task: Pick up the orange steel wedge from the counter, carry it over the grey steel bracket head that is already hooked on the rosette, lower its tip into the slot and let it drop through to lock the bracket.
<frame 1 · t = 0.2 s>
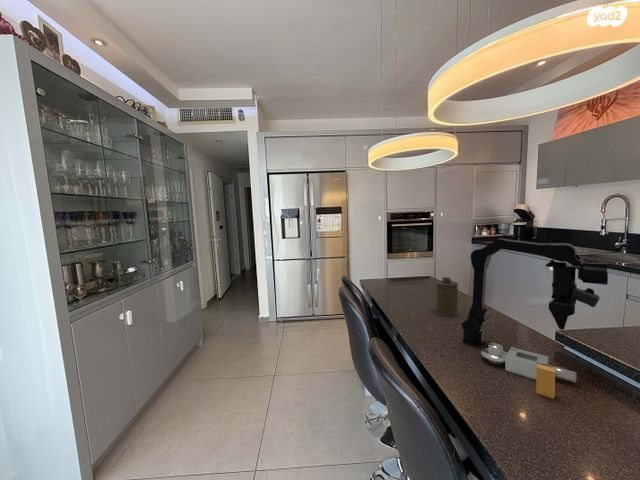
hand: (562, 325, 92), 15 cm above the countertop, tool pointing down, fingers open, 9 cm apart
wedge: (545, 394, 79), on the countertop
canister: (447, 314, 147), on the countertop
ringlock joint: (526, 370, 91), on the countertop
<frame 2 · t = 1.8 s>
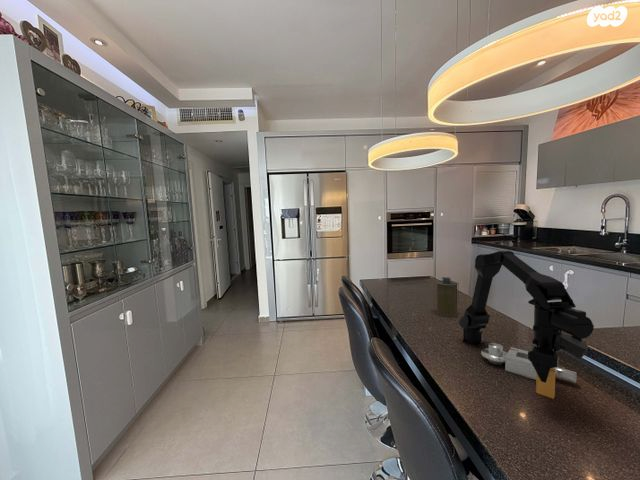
hand: (545, 374, 79), 6 cm above the countertop, tool pointing down, fingers open, 9 cm apart
nothing on the countertop moved.
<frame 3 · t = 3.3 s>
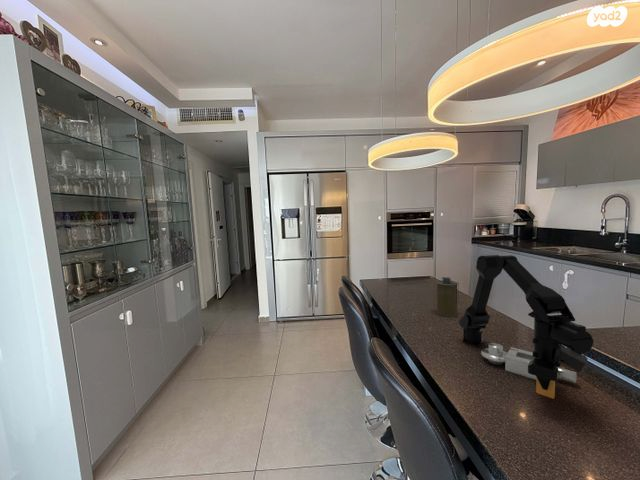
hand: (545, 387, 79), 2 cm above the countertop, tool pointing down, fingers closed on wedge, 2 cm apart
wedge: (545, 393, 79), on the countertop, touching gripper
everything else where it was.
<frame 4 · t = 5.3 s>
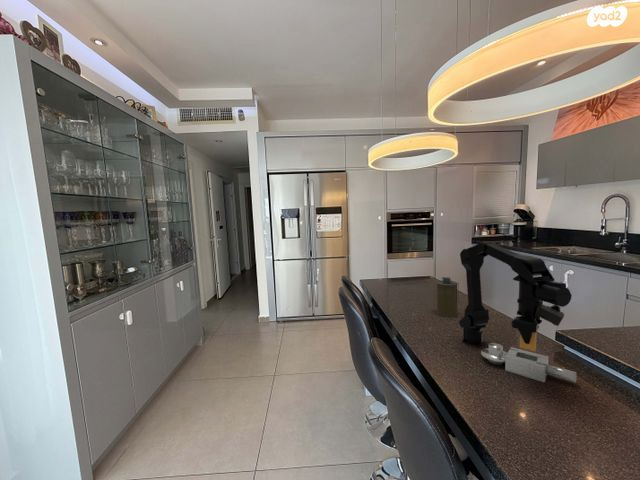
hand: (527, 342, 89), 11 cm above the countertop, tool pointing down, fingers closed on wedge, 2 cm apart
wedge: (527, 348, 89), point 9 cm above the countertop, touching gripper
everything else where it was.
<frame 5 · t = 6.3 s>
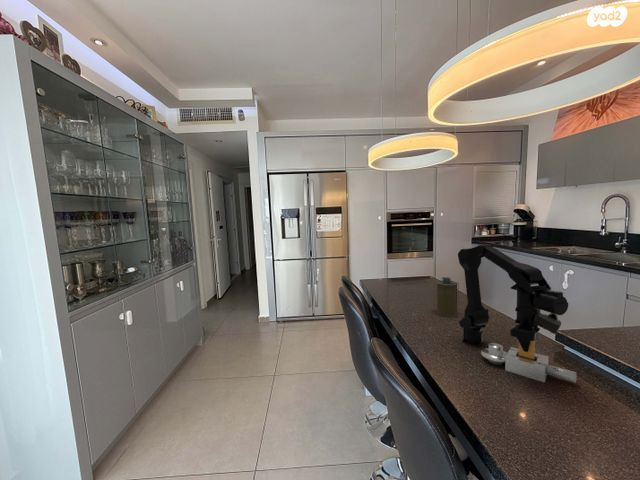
hand: (526, 350, 91), 7 cm above the countertop, tool pointing down, fingers closed on wedge, 2 cm apart
wedge: (526, 355, 91), point 5 cm above the countertop, touching gripper
everything else where it was.
when the fingers open (6 cm above the countertop, at t = 7.2 s): wedge drops 4 cm, resting in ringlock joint.
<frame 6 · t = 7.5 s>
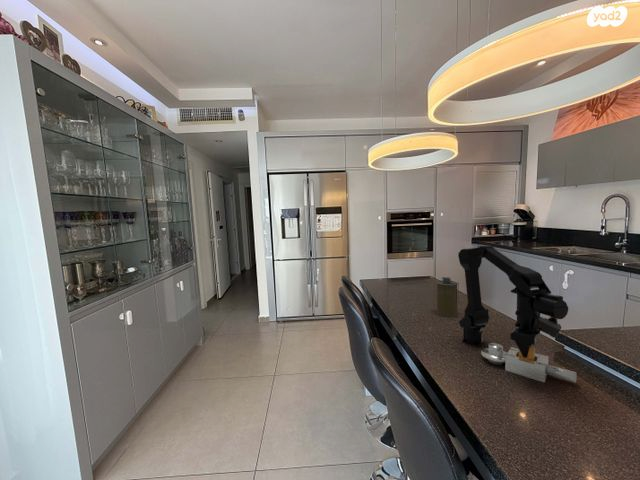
hand: (526, 353, 91), 6 cm above the countertop, tool pointing down, fingers open, 6 cm apart
wedge: (526, 370, 91), resting in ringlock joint
everything else where it was.
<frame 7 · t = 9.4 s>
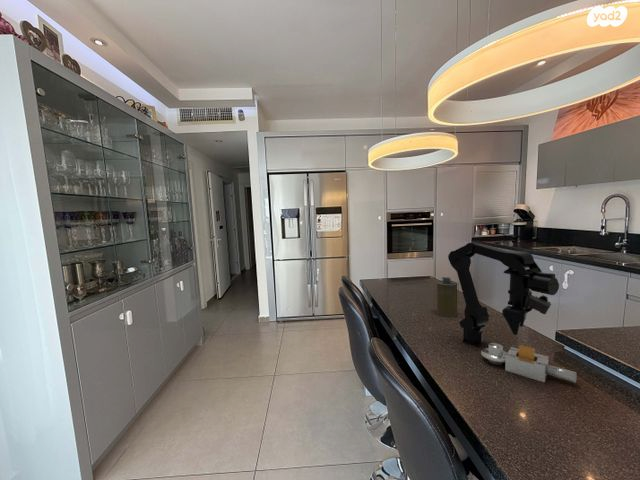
hand: (518, 330, 96), 12 cm above the countertop, tool pointing down, fingers open, 9 cm apart
nothing on the countertop moved.
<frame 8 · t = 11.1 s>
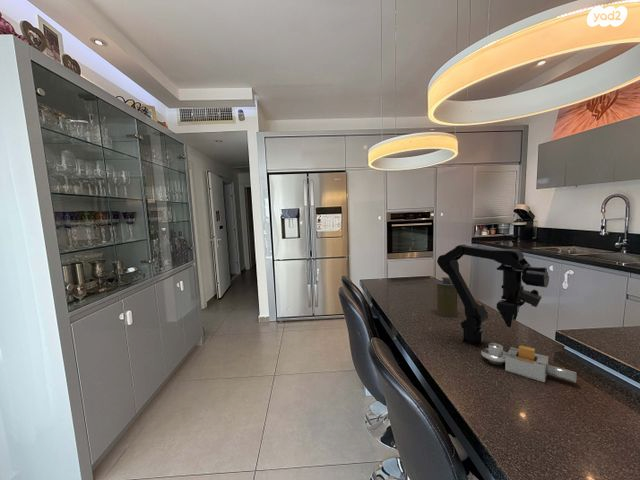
hand: (511, 323, 101), 12 cm above the countertop, tool pointing down, fingers open, 9 cm apart
nothing on the countertop moved.
at the end: wedge 0.0 cm off-centre on the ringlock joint, point 0.0 cm above the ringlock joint's base; wedge tilted 0°; the gripper is holding nothing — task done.
